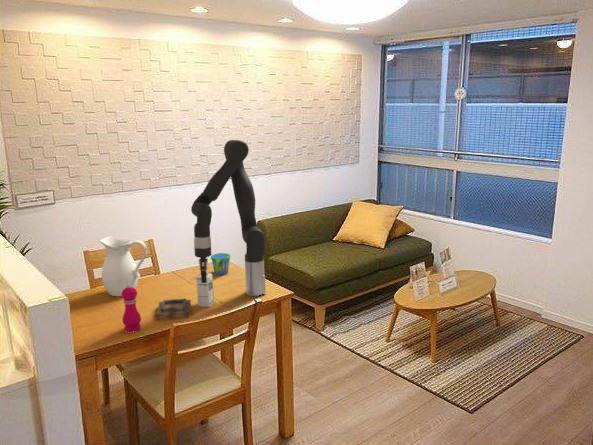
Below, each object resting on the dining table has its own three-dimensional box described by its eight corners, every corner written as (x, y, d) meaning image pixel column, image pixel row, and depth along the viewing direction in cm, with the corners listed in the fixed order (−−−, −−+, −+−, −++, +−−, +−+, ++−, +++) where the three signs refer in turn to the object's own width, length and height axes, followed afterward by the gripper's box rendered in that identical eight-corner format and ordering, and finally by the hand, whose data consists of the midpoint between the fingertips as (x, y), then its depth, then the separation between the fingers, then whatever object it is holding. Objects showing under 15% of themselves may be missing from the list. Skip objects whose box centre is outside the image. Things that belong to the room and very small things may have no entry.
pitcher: (96, 297, 238) (90, 242, 232) (116, 285, 254) (111, 233, 247) (140, 301, 232) (135, 245, 226) (158, 289, 248) (154, 236, 242)
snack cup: (217, 268, 280) (217, 251, 277) (235, 269, 277) (234, 252, 275) (206, 277, 265) (205, 259, 263) (225, 278, 263) (224, 260, 260)
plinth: (190, 304, 228) (190, 296, 227) (189, 316, 215) (189, 308, 214) (159, 307, 226) (159, 298, 225) (156, 319, 213) (156, 311, 212)
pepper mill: (135, 324, 208) (131, 279, 204) (145, 328, 204) (141, 283, 199) (120, 330, 203) (115, 284, 198) (129, 335, 198) (125, 288, 194)
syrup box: (209, 307, 225) (208, 277, 222) (197, 306, 226) (195, 276, 223) (214, 302, 231) (212, 273, 227) (202, 301, 232) (200, 272, 229)
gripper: (211, 249, 216) (212, 284, 220) (210, 241, 230) (212, 274, 233) (193, 250, 215) (195, 285, 218) (194, 241, 228) (196, 274, 232)
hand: (204, 279), depth 226 cm, fingers open, 8 cm apart
